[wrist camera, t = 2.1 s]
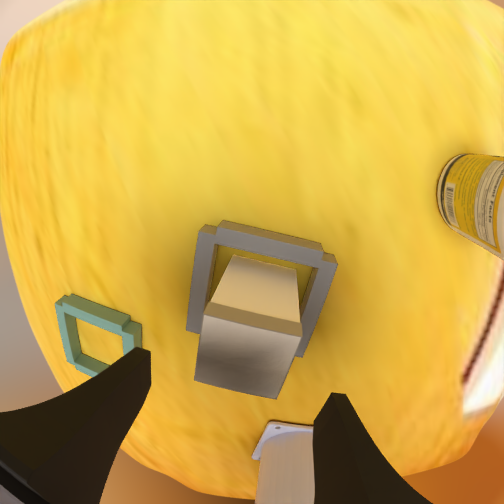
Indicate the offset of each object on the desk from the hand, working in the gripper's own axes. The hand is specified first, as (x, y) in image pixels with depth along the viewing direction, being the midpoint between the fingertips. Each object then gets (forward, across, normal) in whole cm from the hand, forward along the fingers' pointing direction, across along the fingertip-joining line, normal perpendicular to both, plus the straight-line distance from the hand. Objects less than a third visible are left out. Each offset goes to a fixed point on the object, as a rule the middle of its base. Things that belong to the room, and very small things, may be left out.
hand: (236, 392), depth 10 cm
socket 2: (+9, 0, 0) cm, 9 cm away
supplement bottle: (+9, -12, -10) cm, 18 cm away
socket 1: (+9, +12, +9) cm, 17 cm away
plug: (+9, 0, 0) cm, 9 cm away
